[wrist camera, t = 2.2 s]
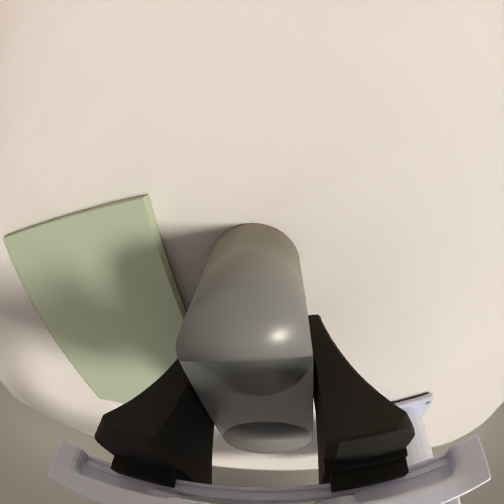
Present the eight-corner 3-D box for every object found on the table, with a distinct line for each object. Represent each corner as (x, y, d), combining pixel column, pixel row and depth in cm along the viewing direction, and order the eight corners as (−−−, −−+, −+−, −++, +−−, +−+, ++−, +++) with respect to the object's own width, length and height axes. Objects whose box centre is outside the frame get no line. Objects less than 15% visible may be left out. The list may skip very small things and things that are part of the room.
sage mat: (226, 407, 18) (225, 413, 18) (101, 393, 20) (99, 398, 19) (148, 194, 11) (142, 198, 11) (8, 234, 13) (2, 238, 12)
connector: (307, 392, 17) (311, 463, 12) (249, 395, 17) (242, 465, 12) (295, 218, 11) (311, 300, 6) (201, 229, 12) (155, 311, 7)
